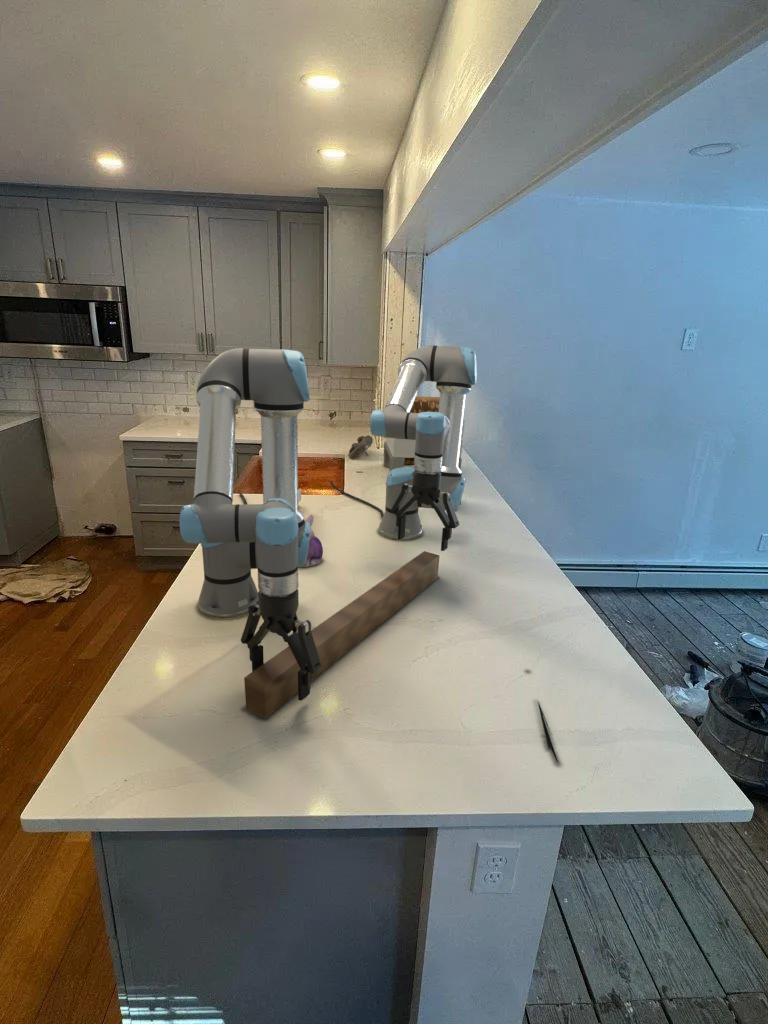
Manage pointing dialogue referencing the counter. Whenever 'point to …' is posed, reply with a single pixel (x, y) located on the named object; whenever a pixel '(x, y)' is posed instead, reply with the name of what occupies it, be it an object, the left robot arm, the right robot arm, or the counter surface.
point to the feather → (547, 731)
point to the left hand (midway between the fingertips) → (280, 685)
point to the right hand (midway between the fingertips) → (422, 543)
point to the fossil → (360, 446)
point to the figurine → (313, 547)
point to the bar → (339, 633)
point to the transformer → (404, 449)
